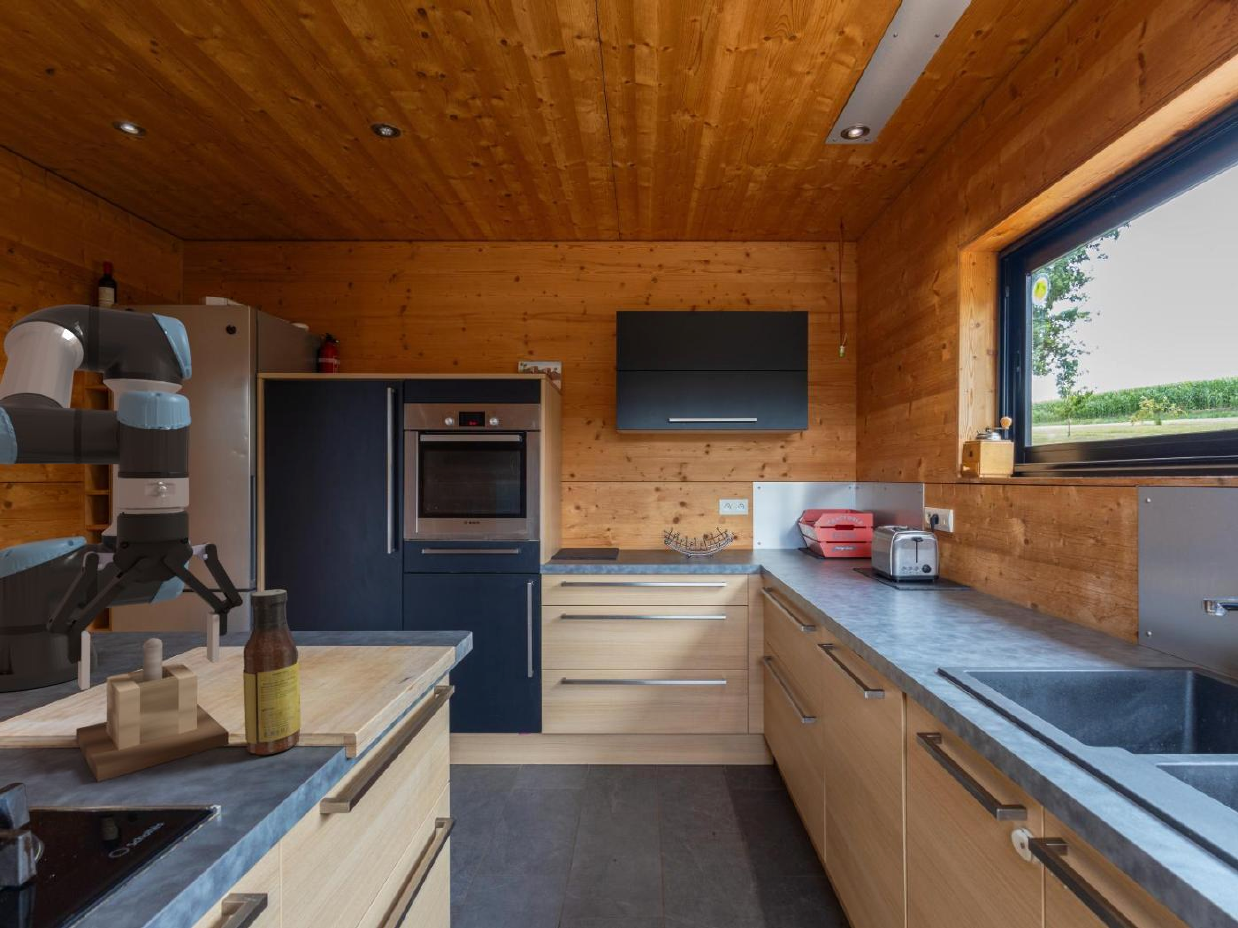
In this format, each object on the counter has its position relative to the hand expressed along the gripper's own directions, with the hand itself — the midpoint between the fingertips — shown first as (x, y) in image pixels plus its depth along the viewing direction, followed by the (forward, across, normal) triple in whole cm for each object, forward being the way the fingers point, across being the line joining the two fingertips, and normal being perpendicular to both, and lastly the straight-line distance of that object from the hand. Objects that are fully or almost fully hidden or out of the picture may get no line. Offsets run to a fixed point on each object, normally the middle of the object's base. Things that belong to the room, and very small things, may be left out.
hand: (152, 672), depth 80 cm
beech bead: (+7, 0, 0) cm, 7 cm away
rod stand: (+9, 0, 0) cm, 9 cm away
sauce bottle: (+9, +10, -14) cm, 19 cm away
